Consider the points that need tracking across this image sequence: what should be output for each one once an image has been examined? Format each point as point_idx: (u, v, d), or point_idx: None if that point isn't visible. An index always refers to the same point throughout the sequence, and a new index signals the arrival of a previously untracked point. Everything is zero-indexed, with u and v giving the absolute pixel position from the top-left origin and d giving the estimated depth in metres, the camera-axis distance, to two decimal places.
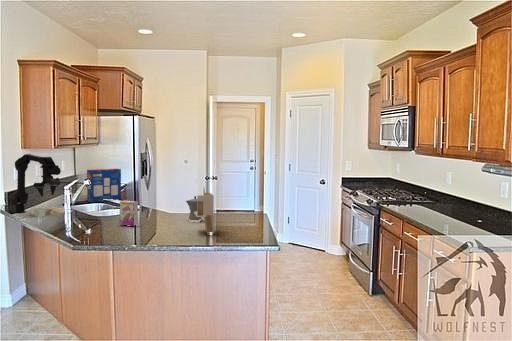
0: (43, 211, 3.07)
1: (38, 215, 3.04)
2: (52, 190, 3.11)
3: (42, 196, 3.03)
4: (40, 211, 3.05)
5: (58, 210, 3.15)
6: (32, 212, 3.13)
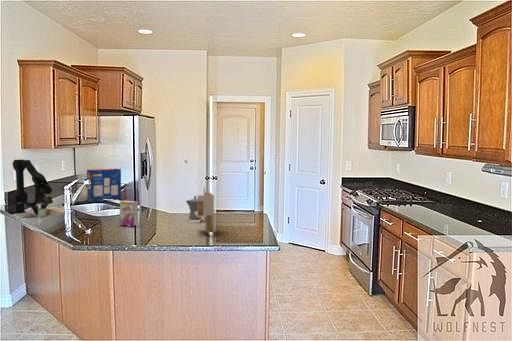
0: (43, 211, 3.07)
1: (38, 215, 3.04)
2: None
3: None
4: (40, 211, 3.05)
5: (58, 210, 3.15)
6: (32, 212, 3.13)
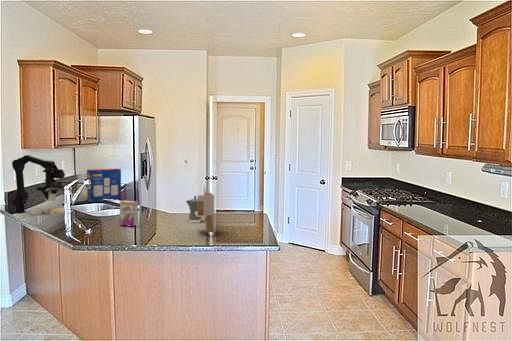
0: (53, 196, 3.14)
1: (49, 199, 3.11)
2: None
3: (47, 199, 3.12)
4: (50, 195, 3.12)
5: (58, 210, 3.15)
6: (32, 212, 3.13)
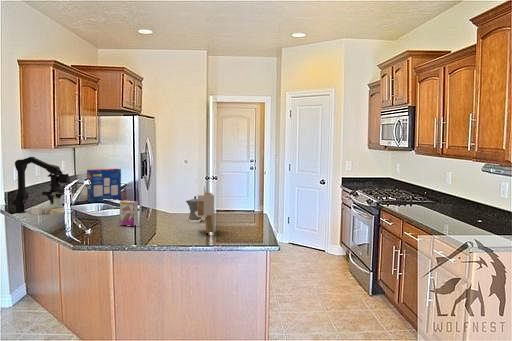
0: (58, 200, 3.18)
1: (54, 204, 3.16)
2: None
3: (52, 203, 3.16)
4: (55, 200, 3.16)
5: (58, 210, 3.15)
6: (32, 212, 3.13)
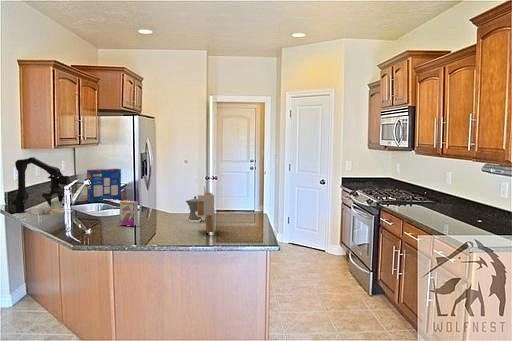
0: (58, 204, 3.18)
1: (54, 207, 3.16)
2: (60, 200, 3.23)
3: None
4: (56, 203, 3.16)
5: (57, 210, 3.15)
6: (32, 212, 3.13)
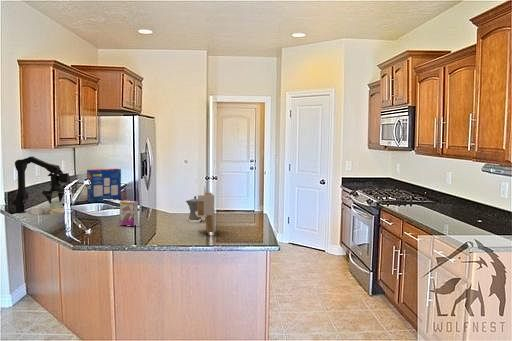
0: (58, 204, 3.19)
1: (54, 207, 3.16)
2: (60, 197, 3.22)
3: (50, 203, 3.14)
4: (56, 203, 3.16)
5: (57, 210, 3.15)
6: (32, 212, 3.13)
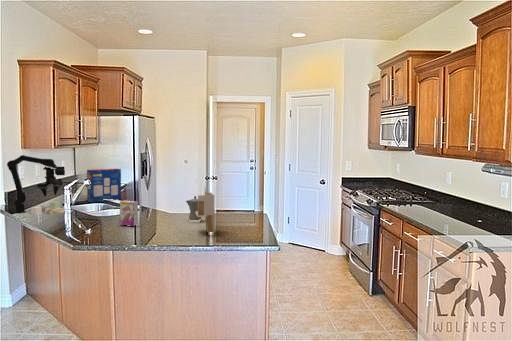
0: (58, 204, 3.19)
1: (54, 207, 3.16)
2: (55, 190, 3.29)
3: (45, 196, 3.21)
4: (56, 203, 3.16)
5: (57, 210, 3.15)
6: (32, 212, 3.13)
